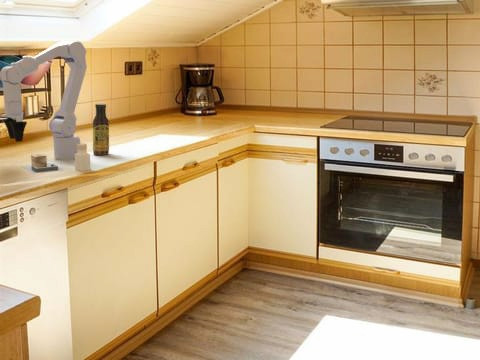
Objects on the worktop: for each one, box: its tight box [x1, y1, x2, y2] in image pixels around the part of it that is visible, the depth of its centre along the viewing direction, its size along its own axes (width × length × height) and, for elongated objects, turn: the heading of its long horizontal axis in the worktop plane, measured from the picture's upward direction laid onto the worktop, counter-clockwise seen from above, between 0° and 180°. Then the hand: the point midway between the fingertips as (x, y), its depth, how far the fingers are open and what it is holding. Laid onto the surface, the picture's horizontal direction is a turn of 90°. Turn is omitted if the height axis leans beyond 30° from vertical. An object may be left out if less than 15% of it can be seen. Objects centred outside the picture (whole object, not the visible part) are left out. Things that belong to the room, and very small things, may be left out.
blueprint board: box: [21, 162, 63, 174], centre depth 216 cm, size 10×15×2 cm, turn 34°
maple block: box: [30, 153, 48, 168], centre depth 218 cm, size 4×4×4 cm
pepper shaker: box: [74, 143, 92, 172], centre depth 213 cm, size 4×4×10 cm
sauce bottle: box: [92, 103, 110, 156], centre depth 245 cm, size 7×6×20 cm
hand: (16, 139), depth 221 cm, fingers open, 7 cm apart
